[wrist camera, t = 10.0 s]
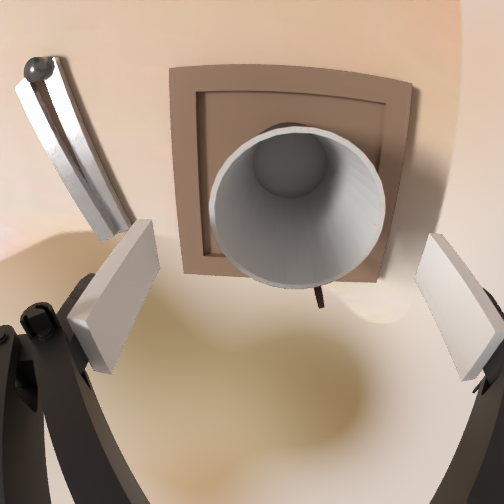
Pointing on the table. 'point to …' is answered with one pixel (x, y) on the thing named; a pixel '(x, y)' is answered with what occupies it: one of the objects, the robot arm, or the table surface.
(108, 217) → the tongs
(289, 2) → the table surface
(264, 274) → the coffee mug
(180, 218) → the tray
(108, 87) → the table surface
